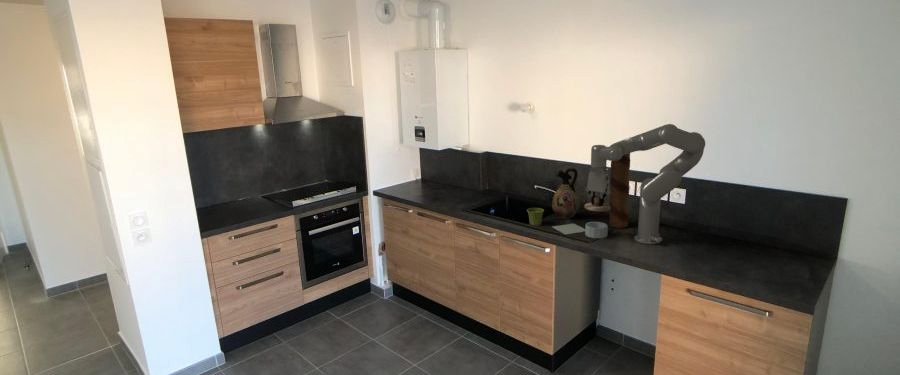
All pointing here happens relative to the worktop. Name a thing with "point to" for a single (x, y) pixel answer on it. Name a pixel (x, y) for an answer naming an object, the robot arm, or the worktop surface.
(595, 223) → the bowl
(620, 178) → the wafer roll
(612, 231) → the worktop surface
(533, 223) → the plant pot
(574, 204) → the ceramic jug
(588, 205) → the lid
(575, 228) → the mat
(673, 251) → the worktop surface
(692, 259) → the worktop surface
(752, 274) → the worktop surface
